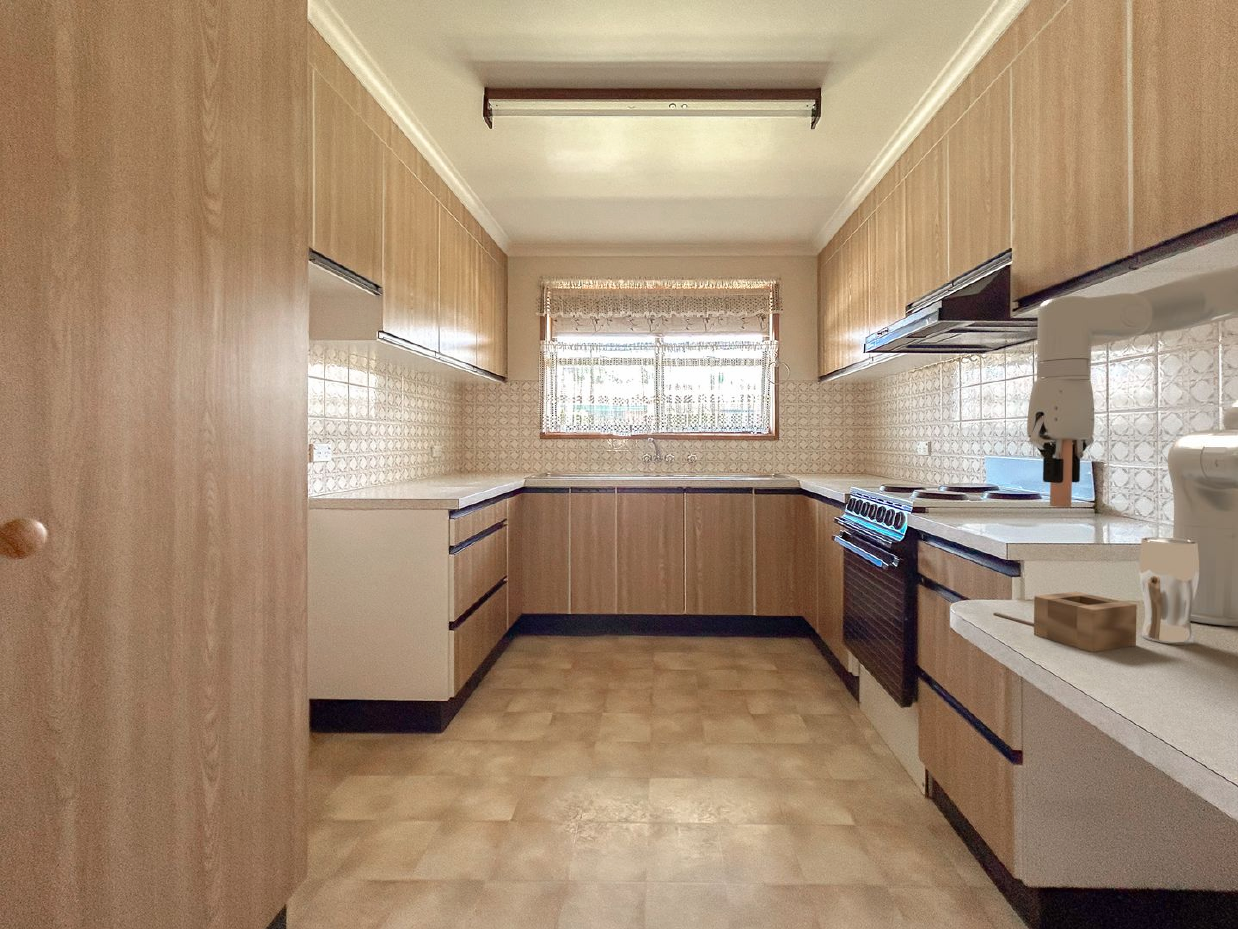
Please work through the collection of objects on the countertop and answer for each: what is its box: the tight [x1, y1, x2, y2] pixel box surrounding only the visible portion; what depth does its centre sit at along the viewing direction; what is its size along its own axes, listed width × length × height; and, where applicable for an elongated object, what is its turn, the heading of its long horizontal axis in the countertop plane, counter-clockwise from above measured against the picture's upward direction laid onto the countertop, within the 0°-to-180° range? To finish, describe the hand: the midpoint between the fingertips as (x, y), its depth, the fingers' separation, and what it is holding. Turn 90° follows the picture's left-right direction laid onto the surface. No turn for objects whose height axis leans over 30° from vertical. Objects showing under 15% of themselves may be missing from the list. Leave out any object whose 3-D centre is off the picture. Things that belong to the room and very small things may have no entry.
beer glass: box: [1138, 536, 1199, 646], centre depth 99 cm, size 7×7×15 cm
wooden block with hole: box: [1033, 591, 1138, 653], centre depth 99 cm, size 9×9×6 cm
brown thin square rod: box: [992, 612, 1034, 627], centre depth 109 cm, size 1×10×1 cm, turn 19°
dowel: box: [1049, 438, 1073, 508], centre depth 111 cm, size 3×3×12 cm
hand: (1061, 481), depth 111 cm, fingers closed on dowel, 3 cm apart
